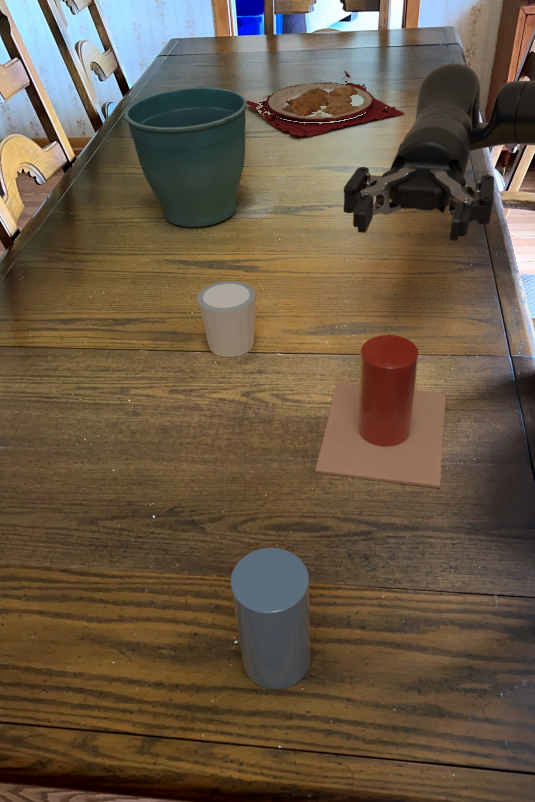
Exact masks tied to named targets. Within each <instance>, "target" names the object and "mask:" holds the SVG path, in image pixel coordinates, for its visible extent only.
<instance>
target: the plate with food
mask: <svg viewBox="0 0 535 802" xmlns="http://www.w3.org/2000/svg"><path fill="white" fill-rule="evenodd" d="M343 73H344V74H345V75H344V76H345V77H343V78H342V79H344V78H347V79H350V78H351V75H350V74H349V73H348V72H347V71H346V70H344V72H343ZM347 81H348V80H347ZM347 81H345V82H346V83H347ZM323 89H329V90H331V89H332V91H330V92H329V93H328V92H327V91H325V90H323ZM333 89H334V90H333ZM369 92H370V91H368V90H367V87H366V84H365V83H362V85H361V84H360V83H353V82H352V83H347V84H345V85H344V84H338V83H336V82H331V81H329V82H317V81H316V82H313V83H312V82H311V83H303V84H295V85H289V86H286V87H284V88H281V89H279V90H277V91H276V92H273V93H272V94H269V95H266V96H265V97H264V98H266V97H268V98H267V100H266V101H263V102H259V103H262V104H261V105H263V107H262V108H260V109H258V110H261V111H262V112H261V114H260V113H258V114H259V116H261V117H263V118H266V117H267V118H266V119H265V122H266V123H268V124H269V125H271V127H273V128H274V129H276V130H280V131H282V132H285V133H289V134H290V135H292V136H300V137H301V138H303V137H304V136H305V137H307V138H309V137H313V136H317V135H322V134H326V133H329V131H331V130H333V129H335V130H336V129H340V128H344V127H345V126H353V125H357V124H362V123H363V124H365V123H368V122H370V121H373V120H377V121H379V120H382V119H385V118H388V117H398V116H402V115H404V114H405V112H403V111H402V110H399V109H397V108H396V106H391V105H388V104H387V103H384V102H383V101H382V100H379V99H377V98H375V97H374V96H373V95H372V93H371V92H370V93H371V94H370V93H369ZM299 94H302V95H300V96H299V97H297V98H295V99H290V100H289V101H288V99H289V98H292V97H294V96H296V95H299ZM357 94H358V95H359V96H361V97H362V98H363V99H364V102H363V104H361V105H359V106H352V104H350V103H351V102H352V99H351V97H350V96H352V95H357ZM251 101H252V100H246V105H247V106H248V107H250V109H252V110H256V112H257V111H258V110H257V109H256V107H257V106H260V105H259V104H257V103H254V102H251ZM284 101H285V102H286V103H288V104H289V105H288V106H286V107H285V108H283V106H285V105H284V104H286V103H285V102H284ZM320 106H327V107H326V108H325V109H323V110H322V109H321V107H320ZM385 107H387V108H385ZM264 109H265V110H264ZM318 110H322V112H325V113H328V114H331V115H333V116H331V117H322V116H319V115H321V113H317V114H316V116H314V117H306V116H308V115H311V114H314V113H312V112H317V111H318ZM265 111H267V112H268V111H269V112H270V113H271V114H270V115H268V113H264V112H265ZM385 111H387V112H385ZM365 112H366V113H365ZM263 113H264V114H263ZM364 113H365V114H364ZM262 114H263V115H264V116H263V115H262ZM361 114H363V115H361ZM358 115H361V116H358ZM276 116H277V117H276ZM356 116H358V117H356ZM278 117H279V118H278ZM353 117H356V118H353ZM280 118H282V119H280ZM349 118H353V119H349ZM283 119H287V120H292V121H287V120H283ZM344 119H349V120H345V121H340V122H334V123H322V124H319V123H305V124H304V123H299V122H330V121H339V120H344ZM293 121H298V122H293Z"/></svg>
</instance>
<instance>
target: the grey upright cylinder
mask: <svg viewBox="0 0 535 802" xmlns="http://www.w3.org/2000/svg"><path fill="white" fill-rule="evenodd" d="M230 589H231V596H232V603H233V609H234V616H235V623H236V630H237V636H238V643H239V650H240V656H241V661H242V662H241V663H242V667H243V670H244V672H245V674H246V675H247V676H248V678H249V679H250V680H251V681H252V682H254V683H255V684H256V685H258V686H260V687H263V688H265V689H269V690H283V689H287V688H289V687H292V686H294V685H295V684H298V683H299V682H300V681H301V680H302V679H303V678H305V676H306V675H307V673H308V671H309V669H310V667H311V663H312V633H311V631H312V630H311V598H310V575H309V572H308V568H307V566H306V564H305V563H304V562H303V560H302V559H301V558H300V557H299V556H297V555H296V554H295V553H293V552H291V551H289V550H287V549H283V548H279V547H264V548H260V549H259V548H258V549H256V550H253V551H252V552H249V553H247V554H246V555H245V556H243V557H242V558H241V559H240V560H239V561H238V562H237V564H235V566H234V568H233V569H232V572H231V576H230Z"/></svg>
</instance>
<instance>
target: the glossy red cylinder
mask: <svg viewBox="0 0 535 802" xmlns="http://www.w3.org/2000/svg"><path fill="white" fill-rule="evenodd" d="M359 360H360V361H359V362H360V363H359V385H360V390H359V419H358V430H359V433H360V435H361V436H362V438H363V439H365V440H366V441H367V442H369V443H371V444H374V445H377V446H384V447H389V446H395V445H398V444H401V443H403V442H404V441H405V440H406V439H407V438H408V437H409V436H410V433H411V425H412V415H413V404H414V394H415V390H416V384H417V383H416V382H417V373H418V362H419V348H418V347H417V344H415V343H414V342H413V341H411V340H410V339H408V338H406V337H404V336H400V335H395V334H384V335H383V334H382V335H377V336H374V337H371V338H369V339H367V340H366V341H365V342H364V343H363V344H362V346H361V348H360V359H359Z"/></svg>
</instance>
